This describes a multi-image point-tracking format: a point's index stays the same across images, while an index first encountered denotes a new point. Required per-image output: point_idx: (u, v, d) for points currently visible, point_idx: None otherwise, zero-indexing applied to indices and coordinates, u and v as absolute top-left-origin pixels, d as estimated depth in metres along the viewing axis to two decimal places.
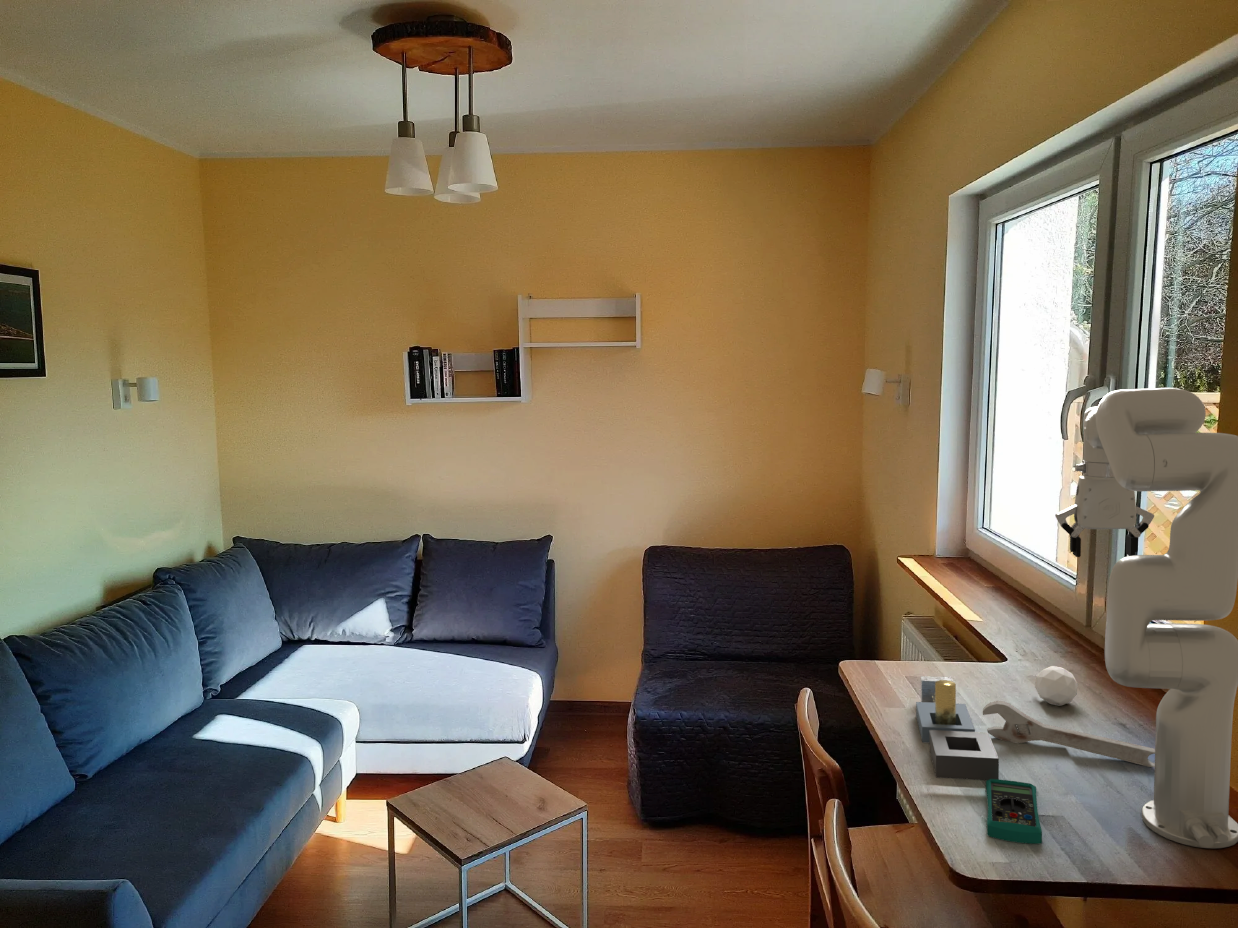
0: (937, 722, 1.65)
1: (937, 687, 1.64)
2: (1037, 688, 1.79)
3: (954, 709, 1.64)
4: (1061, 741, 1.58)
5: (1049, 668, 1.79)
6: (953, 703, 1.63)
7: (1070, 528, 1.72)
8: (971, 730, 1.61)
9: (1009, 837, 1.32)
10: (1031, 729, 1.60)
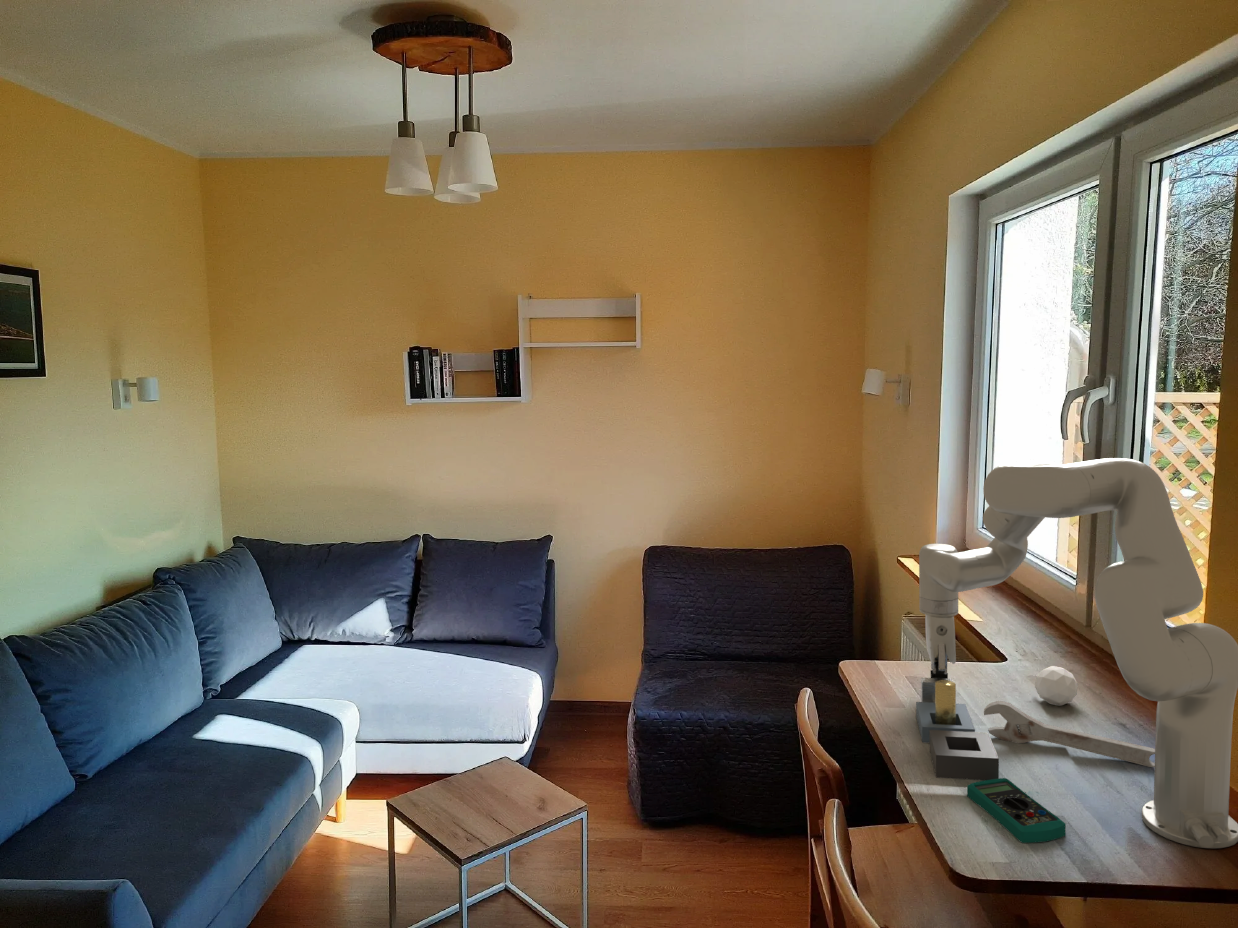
0: (937, 722, 1.65)
1: (937, 687, 1.64)
2: (1037, 688, 1.79)
3: (954, 709, 1.64)
4: (1062, 741, 1.58)
5: (1049, 668, 1.79)
6: (953, 703, 1.63)
7: None
8: (971, 730, 1.61)
9: (1042, 838, 1.31)
10: (1032, 729, 1.60)
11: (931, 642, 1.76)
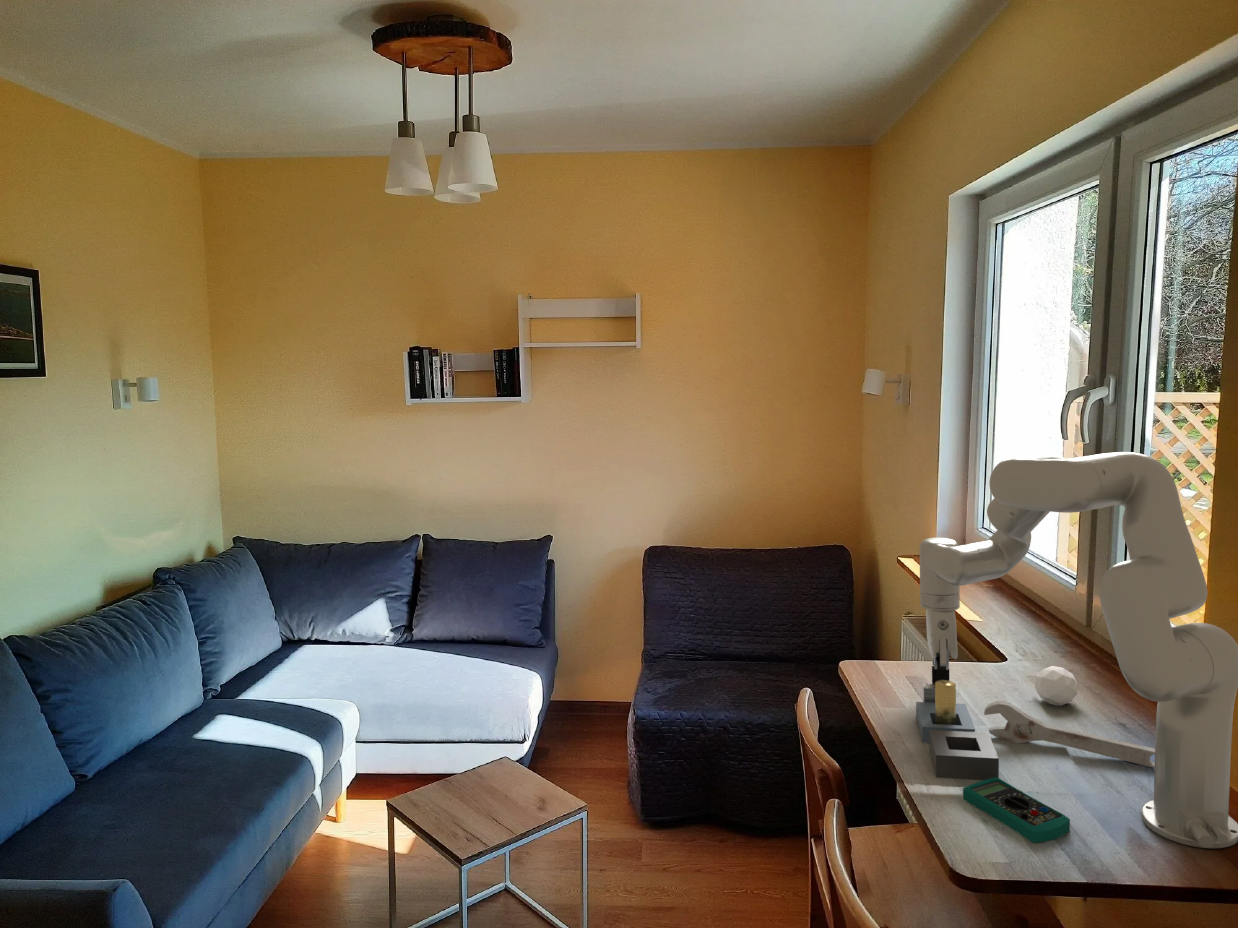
0: (937, 722, 1.65)
1: (937, 687, 1.64)
2: (1037, 688, 1.79)
3: (954, 709, 1.64)
4: (1063, 741, 1.58)
5: (1049, 668, 1.79)
6: (953, 703, 1.63)
7: None
8: (971, 730, 1.61)
9: (1052, 836, 1.31)
10: (1033, 729, 1.60)
11: (932, 637, 1.74)
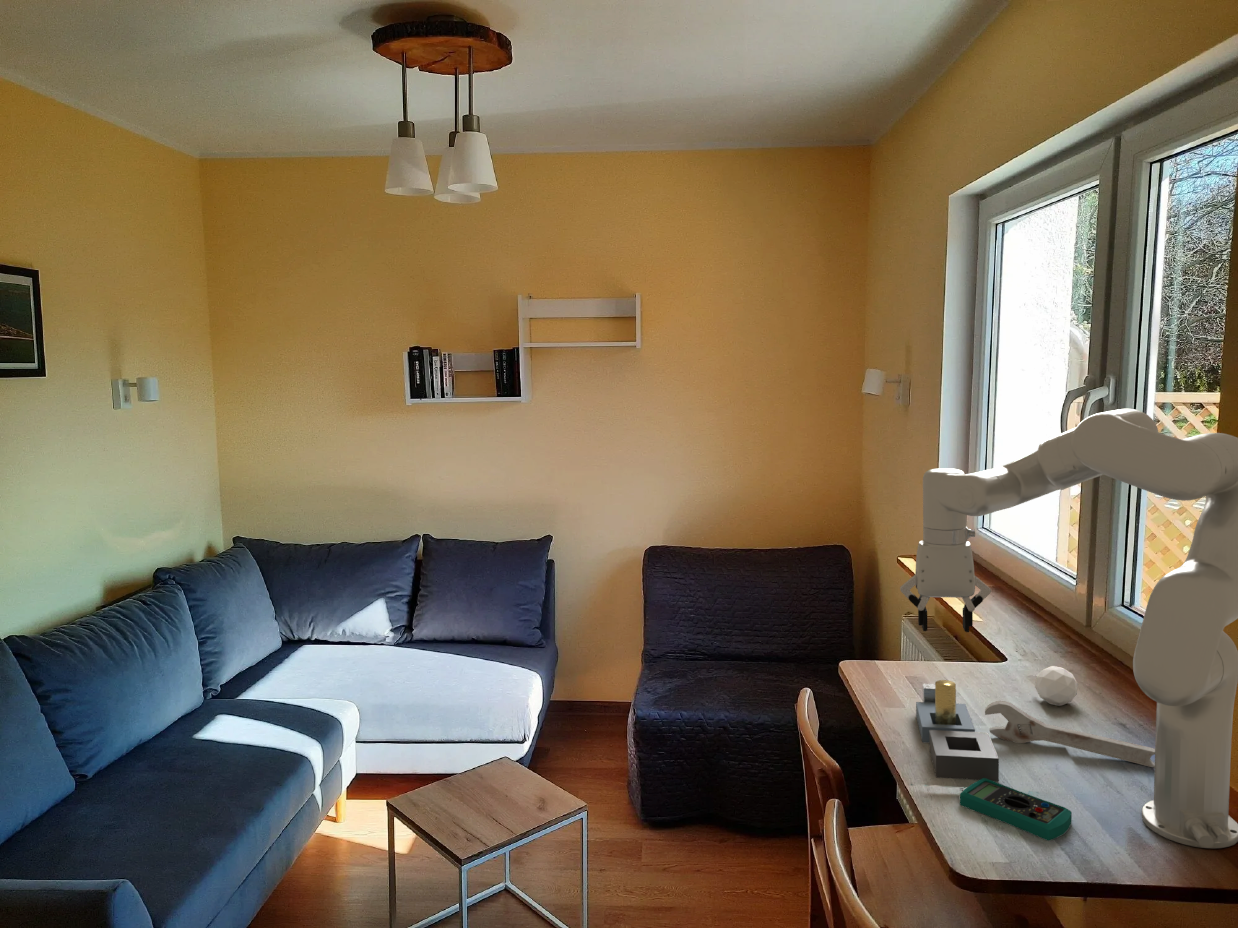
0: (937, 722, 1.65)
1: (937, 687, 1.64)
2: (1037, 688, 1.79)
3: (954, 709, 1.64)
4: (1063, 741, 1.58)
5: (1049, 668, 1.79)
6: (953, 703, 1.63)
7: None
8: (971, 730, 1.61)
9: (1062, 830, 1.33)
10: (1033, 729, 1.60)
11: (973, 573, 1.59)
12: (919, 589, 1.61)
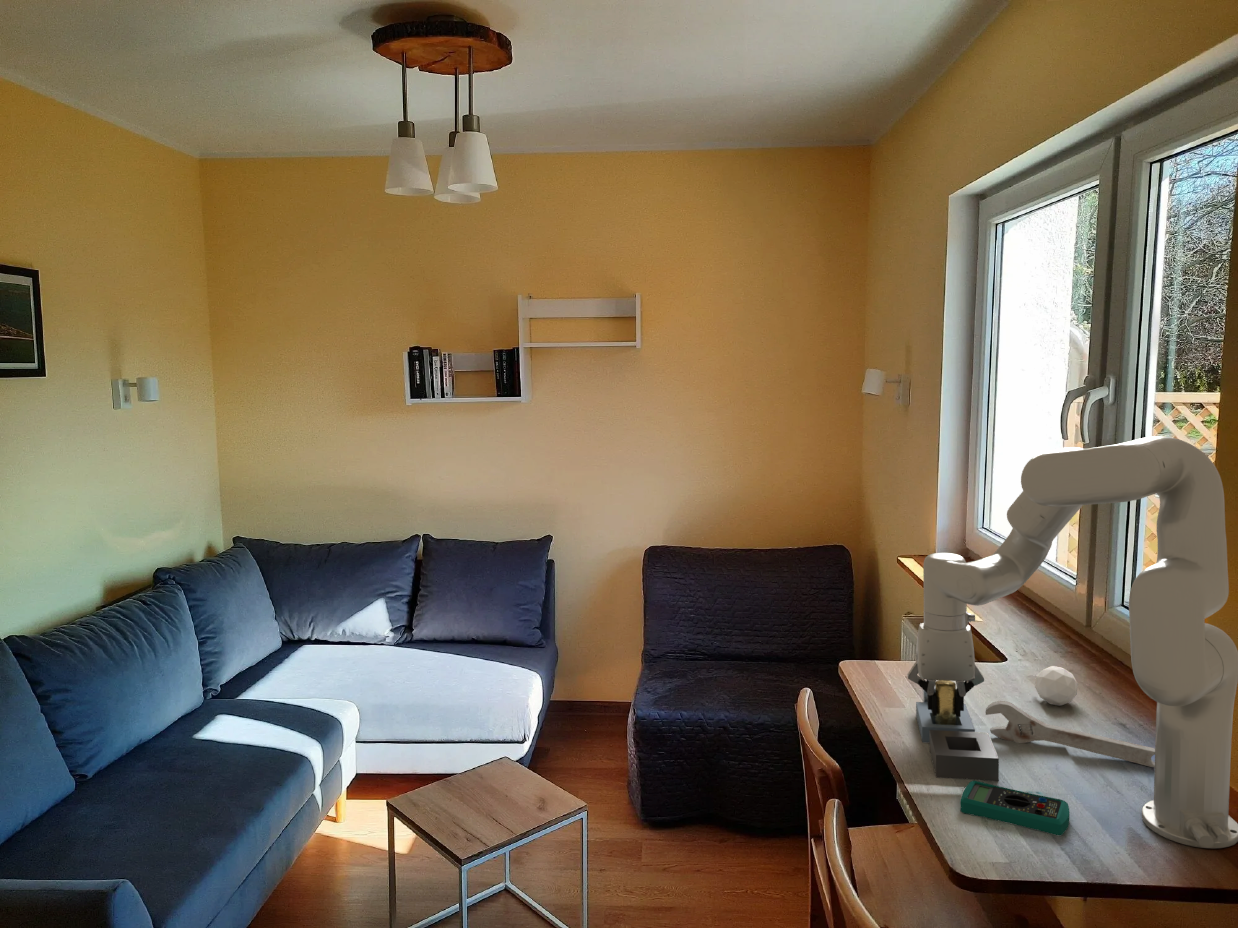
0: (937, 722, 1.65)
1: (937, 687, 1.64)
2: (1037, 688, 1.79)
3: (954, 709, 1.64)
4: (1064, 741, 1.58)
5: (1049, 668, 1.79)
6: (953, 703, 1.63)
7: None
8: (971, 730, 1.61)
9: (1068, 823, 1.34)
10: (1034, 729, 1.60)
11: (973, 657, 1.61)
12: (920, 672, 1.63)
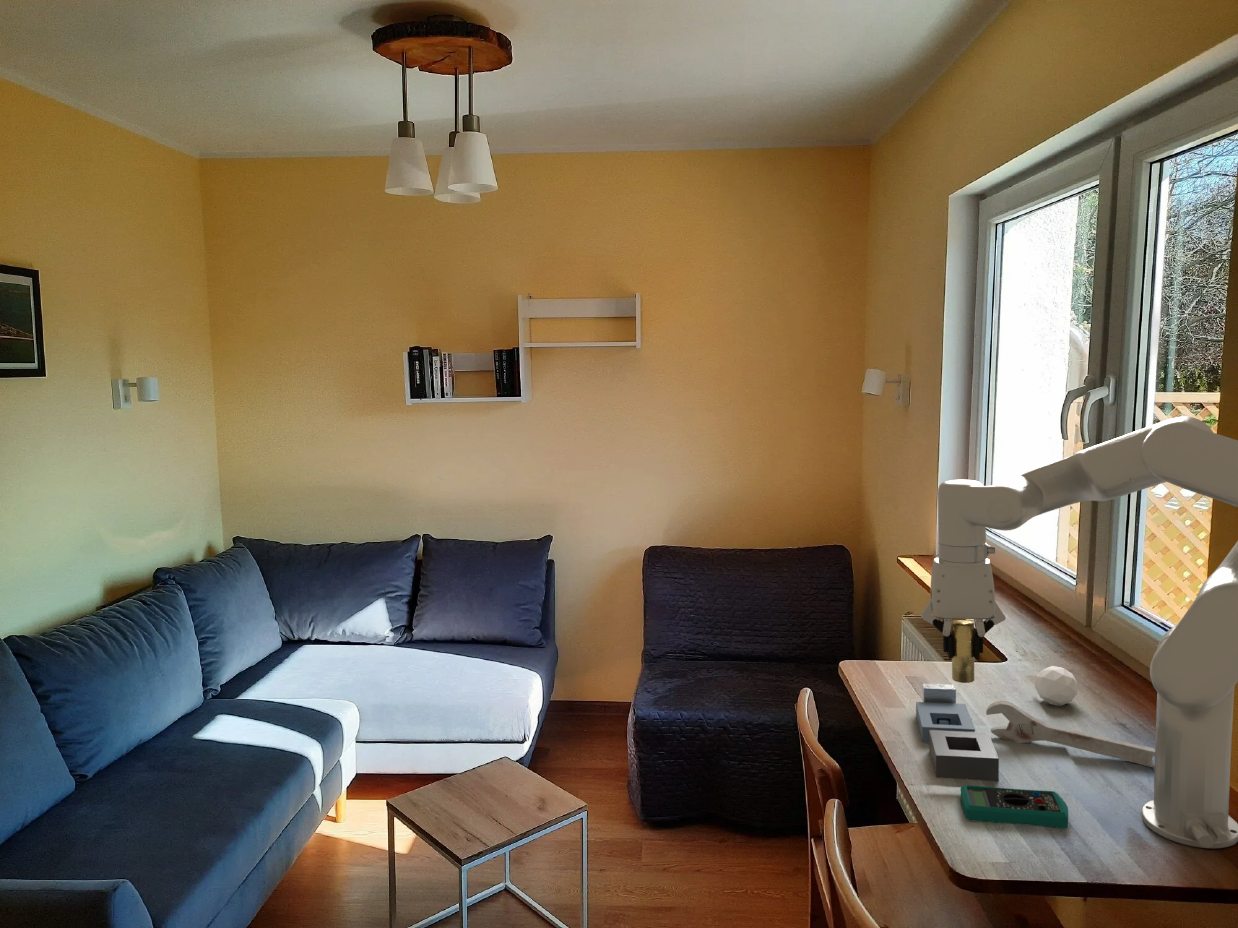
0: (954, 666, 1.51)
1: (953, 627, 1.50)
2: (1037, 688, 1.79)
3: (972, 651, 1.50)
4: (1065, 741, 1.58)
5: (1049, 668, 1.79)
6: (971, 644, 1.49)
7: None
8: (971, 730, 1.61)
9: None
10: (1035, 729, 1.60)
11: (993, 593, 1.47)
12: (935, 610, 1.49)
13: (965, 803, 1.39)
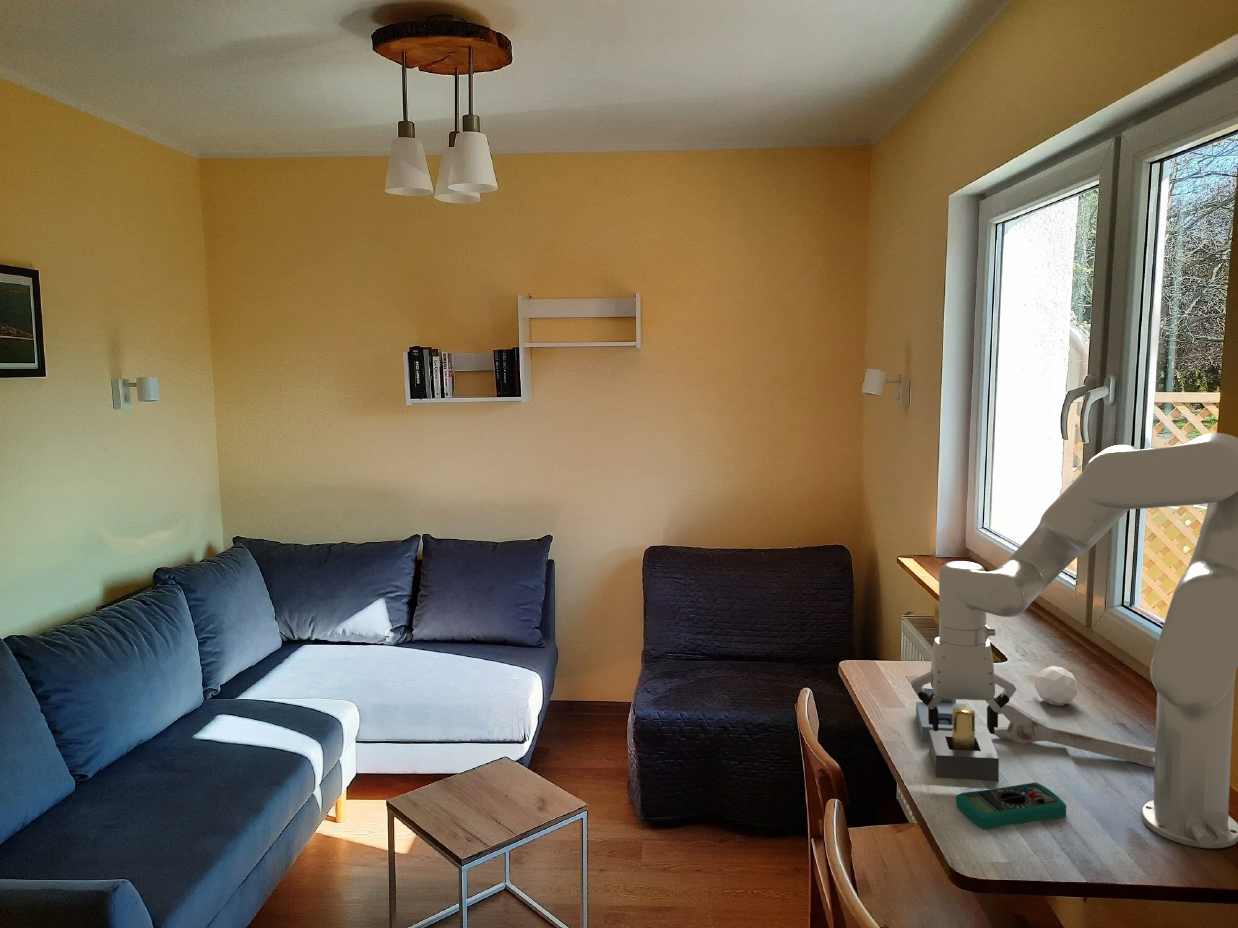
0: None
1: (954, 715, 1.52)
2: (1037, 688, 1.79)
3: (973, 739, 1.52)
4: (1066, 742, 1.57)
5: (1049, 668, 1.79)
6: (972, 732, 1.51)
7: None
8: None
9: None
10: (1036, 730, 1.59)
11: (993, 675, 1.48)
12: (935, 690, 1.51)
13: (976, 812, 1.36)
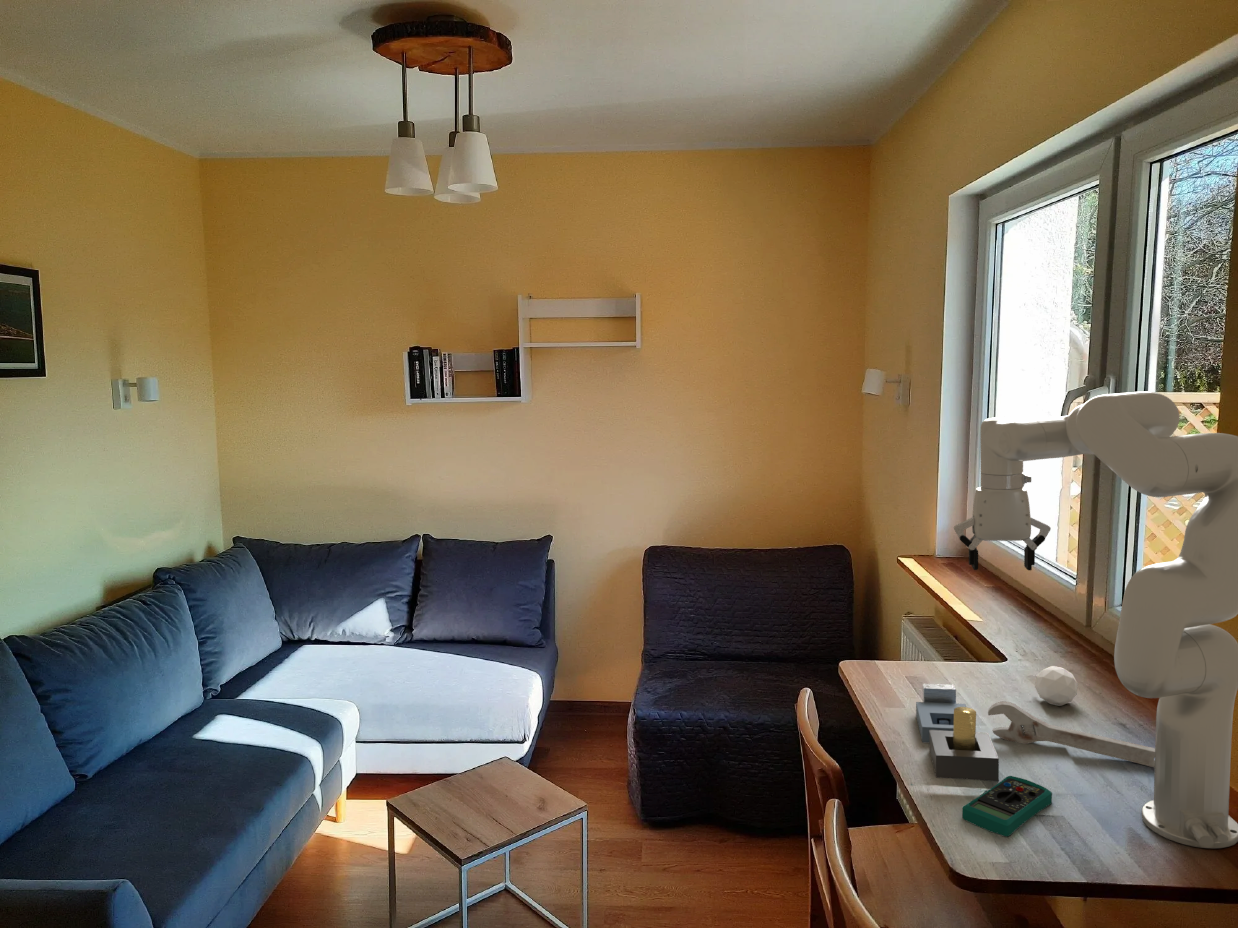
0: None
1: (956, 715, 1.52)
2: (1037, 688, 1.79)
3: (974, 739, 1.51)
4: (1067, 742, 1.57)
5: (1049, 668, 1.79)
6: (973, 732, 1.51)
7: None
8: None
9: None
10: (1037, 730, 1.59)
11: (1029, 517, 1.66)
12: (977, 533, 1.69)
13: (997, 821, 1.34)
